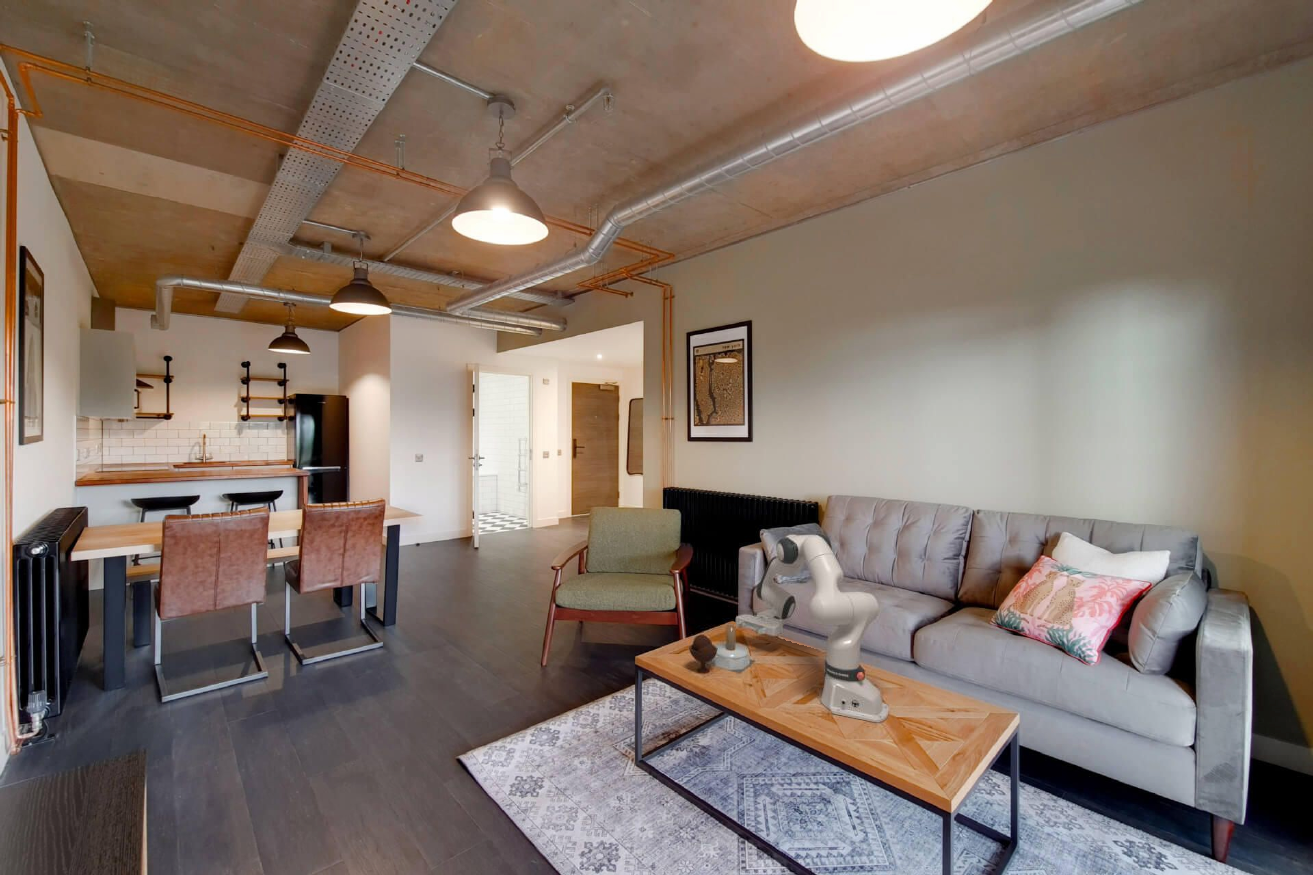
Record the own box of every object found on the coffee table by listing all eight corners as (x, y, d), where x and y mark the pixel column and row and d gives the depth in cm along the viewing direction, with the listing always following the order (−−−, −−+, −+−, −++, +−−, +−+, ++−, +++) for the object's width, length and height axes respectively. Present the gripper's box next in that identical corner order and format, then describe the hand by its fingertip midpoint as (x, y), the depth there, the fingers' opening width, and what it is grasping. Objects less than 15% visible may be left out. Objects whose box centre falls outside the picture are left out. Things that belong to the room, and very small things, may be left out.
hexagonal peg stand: (754, 660, 232) (754, 625, 232) (738, 672, 220) (739, 636, 220) (722, 652, 240) (723, 618, 240) (705, 663, 228) (706, 628, 228)
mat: (755, 661, 232) (755, 660, 232) (740, 674, 220) (740, 673, 220) (721, 652, 241) (721, 651, 241) (704, 664, 228) (704, 663, 228)
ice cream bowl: (718, 678, 216) (719, 639, 216) (689, 677, 216) (690, 638, 216) (715, 666, 227) (716, 629, 226) (688, 666, 227) (689, 629, 227)
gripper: (746, 608, 256) (728, 615, 246) (785, 620, 242) (768, 627, 232) (745, 622, 256) (727, 630, 246) (785, 634, 242) (767, 642, 232)
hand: (747, 629), depth 239 cm, fingers open, 8 cm apart
